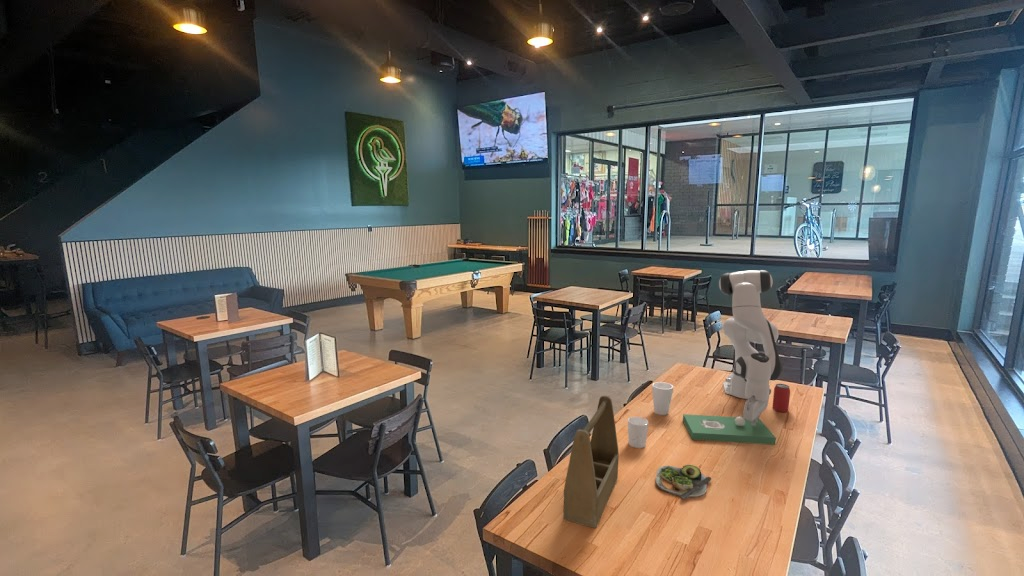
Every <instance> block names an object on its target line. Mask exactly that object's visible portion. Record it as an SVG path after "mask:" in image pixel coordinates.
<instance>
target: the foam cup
mask: <svg viewBox="0 0 1024 576" xmlns="http://www.w3.org/2000/svg"><path fill="white" fill-rule="evenodd" d="M651 386H652V387H651V392H652V400H653V401H652V402H653V411H654V413H655V414H657V415H660V416H666V415H669V413H670V407H671V402H672V397H673V393H674V385H673V384H671V383H669V382H665V381H657V382H653V383H652V385H651Z"/></svg>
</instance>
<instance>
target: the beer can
mask: <svg viewBox="0 0 1024 576" xmlns="http://www.w3.org/2000/svg"><path fill="white" fill-rule="evenodd" d="M790 398H791V389H790V386H789V385H787V384H784V383H776V384H775V386H774V389H773V397H772V399H773V400H772V409H773V411H776V412H778V413H787V412H788V411H789V409H790V407H789V406H790Z"/></svg>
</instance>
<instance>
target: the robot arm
mask: <svg viewBox="0 0 1024 576" xmlns="http://www.w3.org/2000/svg"><path fill="white" fill-rule="evenodd" d="M719 278H720V279H719V281H718V287H719V290H720V291H721V293H722V294H724V295H725V296H728V297H731V296H732V299H731V300H732V301H731V306H732V307H731V309H732V317H729V318H727V319H726V320H725V321H724V323H723V324H722V331H723V334H724V335H725V336H726V337H727V338H728V339H729V341H730V343H732V345H733V348H734V358H735V360H734V365H733V368H732V372H731V373H730V374H729V375H727V377H725V382H722V386H723V390H724V393H725V394H726V395H730V396H732V397H733V396H734V397H736V398H740V399H743V400H744V399H745V400H746V401H745V403H744V408H743V412H742V417H743V419H744V420H747V421H750V422H751V425H753V426H755V425H756V424H757V423H758V419H760V415H761V414H762V413H763V412H764V411H765V410H766V409H767V408H768V406H769V399H770V395H771V394H772V389H771V387H770V382H771V381H777V380H778V379H780V378H781V376H782V375H783V373H784V365H783V362H782V361H781V359H780V355H779V352H778V348H777V344H776V342H777V341H778V338H779V335H780V334H779V329H778V327H777V325H776V324H774V323H772V322H771V321H770V320H769V319H768V318H767V317H766V315H765V313H764V311H763V309H762V305H761V304H762V303H761V295H760V294H765V293H768V292H770V291H771V289H772V288H773V287H772V286H773V282H774V280H773V277H772V275H771V273H770V272H769V271H768V270H764V269H759V270H754V269H753V270H751V269H750V270H741V271H733V272H725V273H722V275H720V277H719ZM751 343H753V344H754V343H755V344H760V345H762V346H763V347H762V348H763V352H764V354H763V353H759V351H758V350H757V349H756V348H754V347H753V346H752V345H751Z"/></svg>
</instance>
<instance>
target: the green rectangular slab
mask: <svg viewBox="0 0 1024 576" xmlns="http://www.w3.org/2000/svg"><path fill="white" fill-rule="evenodd" d="M737 417H738V416H722V415H705V414H703V415H702V414H687V413H686V414H682V421H683V424H684V425H685V427H686V430H687V431H688V434H689V435H690V437H691V439H692V440H693V441H694V440H695V441H696V440H697V441H711V442H712V441H713V442H725V443H727V442H729V443H740V444H741V443H743V444H759V445H776V442H777V441H776V440H777V437H776V435H774V433H773V432H772V431H771V430H770V429H769V428H768V426H766V424H765V423H764V422H763V421H762V420H761V419H760V418H759V419H758V423H757V424H756V425H755V426H753V425H751V422H750V421H747V420H745V425H744V426H737V425H736V424H735V418H737ZM741 417H742V418H743V416H741Z"/></svg>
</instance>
